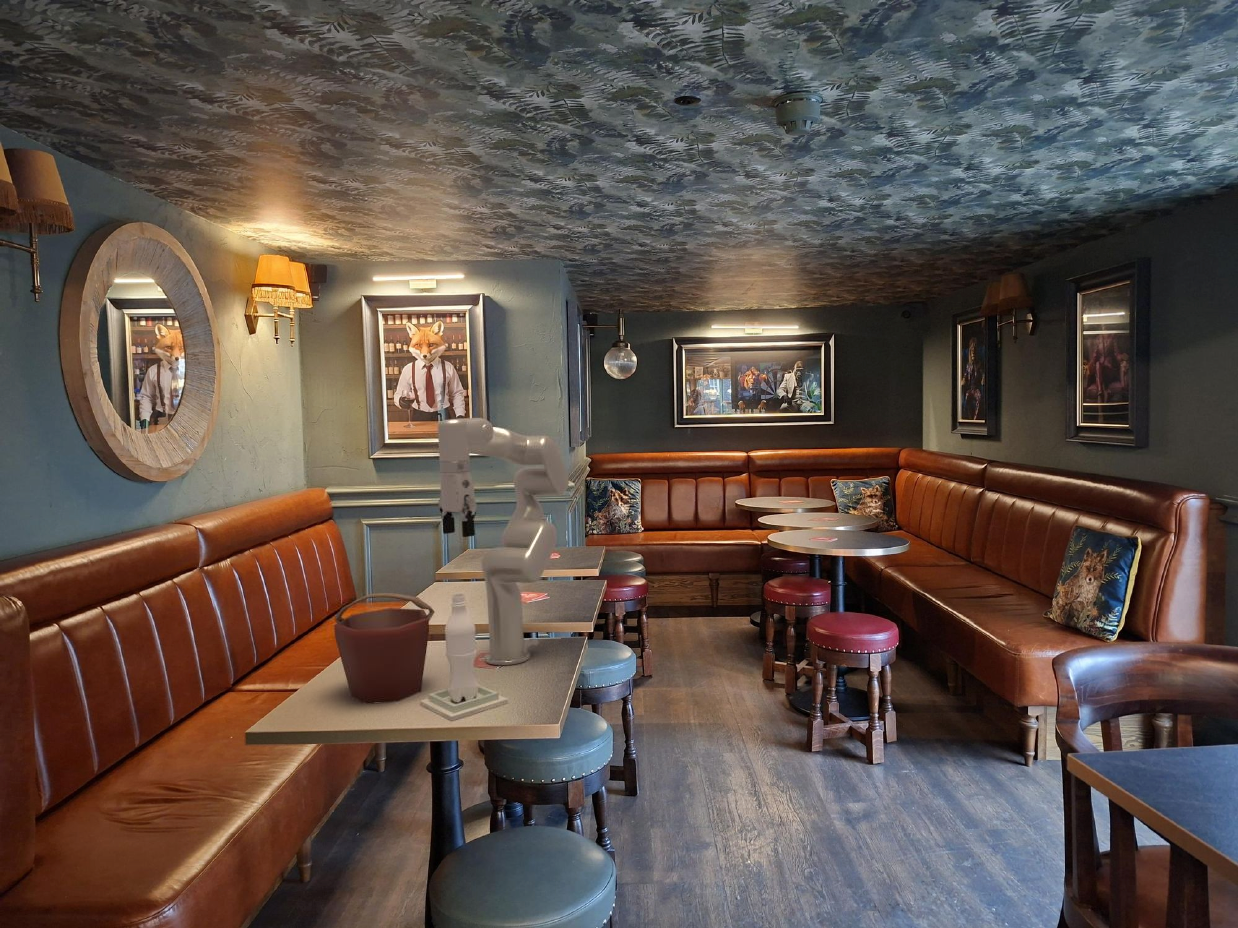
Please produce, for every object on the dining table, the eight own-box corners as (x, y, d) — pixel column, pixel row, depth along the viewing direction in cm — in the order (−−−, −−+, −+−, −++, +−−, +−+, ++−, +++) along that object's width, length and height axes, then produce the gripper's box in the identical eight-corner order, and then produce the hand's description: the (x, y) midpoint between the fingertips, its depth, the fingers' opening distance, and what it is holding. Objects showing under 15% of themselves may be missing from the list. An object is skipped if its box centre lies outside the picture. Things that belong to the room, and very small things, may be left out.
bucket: (452, 680, 206) (447, 585, 204) (404, 712, 185) (398, 606, 183) (371, 675, 213) (366, 583, 212) (317, 704, 192) (310, 602, 191)
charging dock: (474, 688, 199) (474, 678, 199) (507, 702, 188) (507, 692, 188) (420, 704, 189) (419, 694, 189) (451, 720, 178) (451, 710, 178)
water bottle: (447, 705, 184) (441, 599, 183) (449, 695, 191) (443, 593, 190) (478, 702, 186) (473, 597, 184) (479, 692, 193) (474, 591, 191)
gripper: (486, 467, 197) (489, 535, 198) (451, 466, 210) (454, 530, 211) (459, 470, 192) (463, 539, 194) (425, 468, 205) (429, 533, 206)
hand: (458, 534), depth 202 cm, fingers open, 9 cm apart
